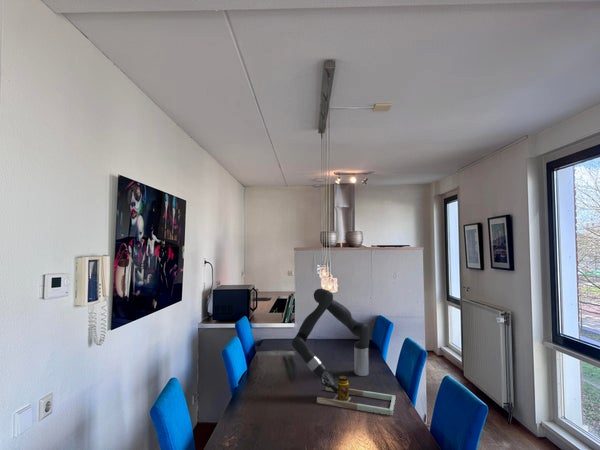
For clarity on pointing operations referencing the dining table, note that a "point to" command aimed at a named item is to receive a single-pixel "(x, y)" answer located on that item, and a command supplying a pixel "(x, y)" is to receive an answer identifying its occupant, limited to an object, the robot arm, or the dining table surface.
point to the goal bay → (374, 408)
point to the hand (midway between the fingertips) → (337, 391)
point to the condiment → (343, 389)
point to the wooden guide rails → (338, 402)
